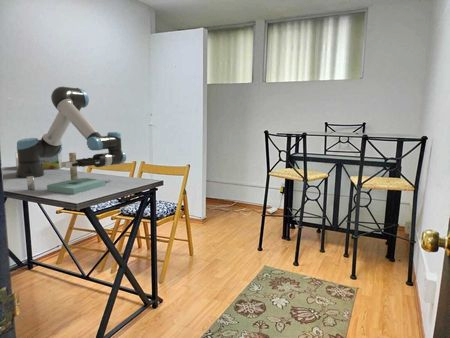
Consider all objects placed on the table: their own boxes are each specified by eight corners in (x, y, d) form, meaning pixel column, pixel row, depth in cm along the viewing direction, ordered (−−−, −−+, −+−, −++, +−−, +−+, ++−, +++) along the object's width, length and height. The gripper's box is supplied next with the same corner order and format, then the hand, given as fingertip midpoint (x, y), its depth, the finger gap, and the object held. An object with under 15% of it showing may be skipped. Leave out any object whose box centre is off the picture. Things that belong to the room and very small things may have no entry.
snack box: (29, 168, 226) (27, 147, 223) (34, 167, 232) (32, 146, 229) (59, 169, 226) (57, 148, 223) (63, 167, 232) (61, 147, 229)
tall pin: (69, 179, 168) (67, 153, 165) (74, 178, 171) (72, 152, 168) (74, 179, 167) (72, 153, 164) (78, 178, 170) (77, 152, 167)
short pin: (26, 190, 165) (25, 176, 164) (32, 188, 168) (31, 175, 167) (30, 190, 164) (29, 177, 163) (36, 189, 167) (35, 176, 165)
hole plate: (47, 190, 164) (47, 185, 164) (80, 182, 185) (80, 177, 184) (74, 194, 158) (73, 188, 158) (105, 185, 179) (104, 180, 178)
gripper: (111, 167, 179) (73, 174, 159) (93, 165, 187) (54, 170, 167) (111, 154, 178) (72, 159, 158) (92, 152, 186) (53, 156, 166)
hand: (63, 165), depth 163 cm, fingers closed on tall pin, 3 cm apart
